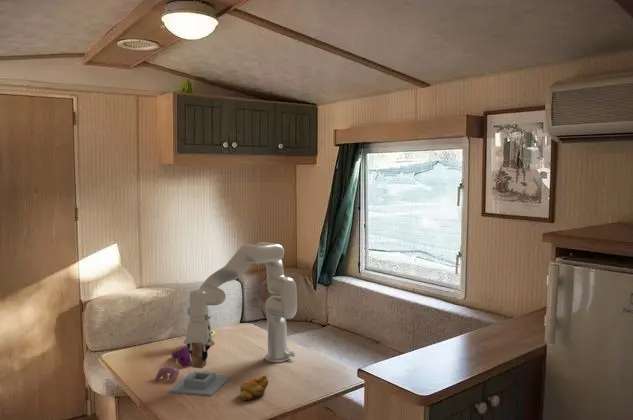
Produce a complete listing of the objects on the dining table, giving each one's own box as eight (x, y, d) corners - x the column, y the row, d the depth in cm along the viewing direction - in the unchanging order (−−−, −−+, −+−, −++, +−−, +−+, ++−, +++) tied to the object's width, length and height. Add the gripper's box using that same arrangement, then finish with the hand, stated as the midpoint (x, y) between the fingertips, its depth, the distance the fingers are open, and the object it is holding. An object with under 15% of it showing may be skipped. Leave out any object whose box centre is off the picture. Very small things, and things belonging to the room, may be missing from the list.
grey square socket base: (230, 377, 234) (230, 369, 233) (212, 396, 214) (211, 387, 214) (189, 374, 238) (189, 366, 238) (168, 392, 218) (168, 383, 218)
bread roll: (248, 404, 206) (248, 385, 206) (232, 398, 212) (231, 379, 212) (270, 393, 216) (270, 375, 215) (255, 388, 222) (254, 369, 222)
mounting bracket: (172, 371, 257) (187, 365, 245) (168, 355, 260) (183, 347, 247) (189, 366, 264) (204, 360, 251) (185, 350, 266) (200, 343, 253)
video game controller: (177, 384, 231) (181, 368, 234) (172, 383, 227) (176, 366, 230) (159, 381, 234) (163, 365, 237) (153, 380, 230) (157, 364, 233)
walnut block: (206, 364, 227) (205, 340, 226) (201, 368, 222) (201, 343, 222) (196, 364, 228) (196, 339, 227) (192, 367, 223) (191, 342, 223)
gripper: (220, 317, 226) (220, 357, 227) (184, 315, 230) (185, 355, 231) (213, 321, 219) (213, 363, 220) (176, 319, 222) (177, 360, 223)
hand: (199, 358), depth 225 cm, fingers closed on walnut block, 4 cm apart
